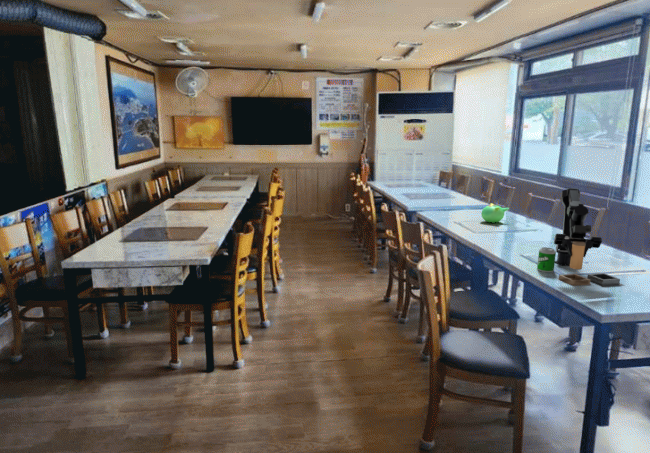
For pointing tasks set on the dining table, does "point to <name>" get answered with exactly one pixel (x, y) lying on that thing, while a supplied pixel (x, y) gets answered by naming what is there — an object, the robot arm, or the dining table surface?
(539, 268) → the soda can
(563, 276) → the stand
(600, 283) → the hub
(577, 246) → the wooden dowel rod
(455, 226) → the dining table surface
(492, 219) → the toy bird
